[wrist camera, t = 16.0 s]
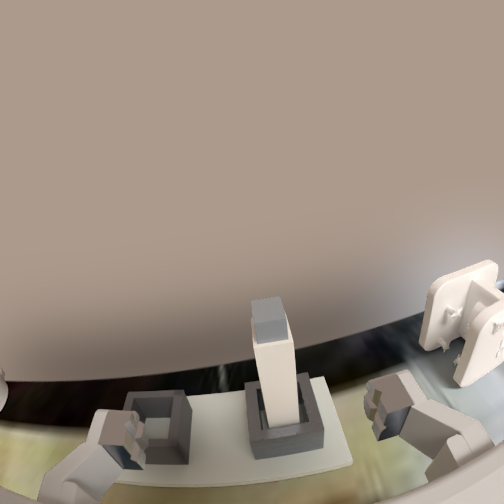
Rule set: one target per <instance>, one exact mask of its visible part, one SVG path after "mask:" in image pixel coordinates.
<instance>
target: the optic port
mask: <svg viewBox="0 0 504 504" xmlns="http://www.w3.org/2000/svg"><path fill="white" fill-rule="evenodd" d="M296 380H297V393H298V404H300V405H301V409H302V413H303V417H304V421H305V423H301V424H295V425H290V426H284V427H278V428H272V429H265V430H263V423H262V415H261V411H262V410H266V409H265V404H264V399H263V394H262V389H261V384H260V381H255V382H248V383H245V395H246V407H247V420H248V432H249V442H250V445H251V448H252V452H253V455H254V458H255V460H259V459H266V458H273V457H280V456H286V455H292V454H297V453H303V452H308V451H312V450H317V449H322V448H323V446H324V425H323V422H322V418H321V415H320V412H319V408H318V405H317V402H316V399H315V395H314V392H313V389H312V385H311V382H310V379H309V376H308V372H307V373H302V374H296Z"/></svg>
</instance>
